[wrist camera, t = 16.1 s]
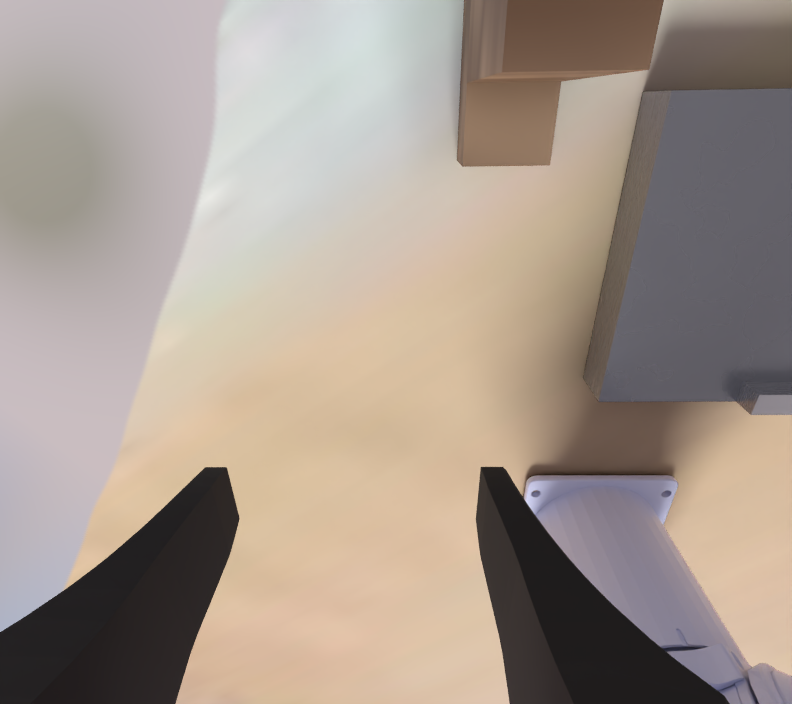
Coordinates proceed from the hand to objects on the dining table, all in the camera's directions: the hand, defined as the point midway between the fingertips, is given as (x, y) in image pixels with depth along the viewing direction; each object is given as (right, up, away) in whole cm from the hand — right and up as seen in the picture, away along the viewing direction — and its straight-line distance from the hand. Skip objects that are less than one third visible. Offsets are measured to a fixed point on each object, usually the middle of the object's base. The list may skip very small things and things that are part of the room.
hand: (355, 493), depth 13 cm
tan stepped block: (+5, +15, +3) cm, 16 cm away
